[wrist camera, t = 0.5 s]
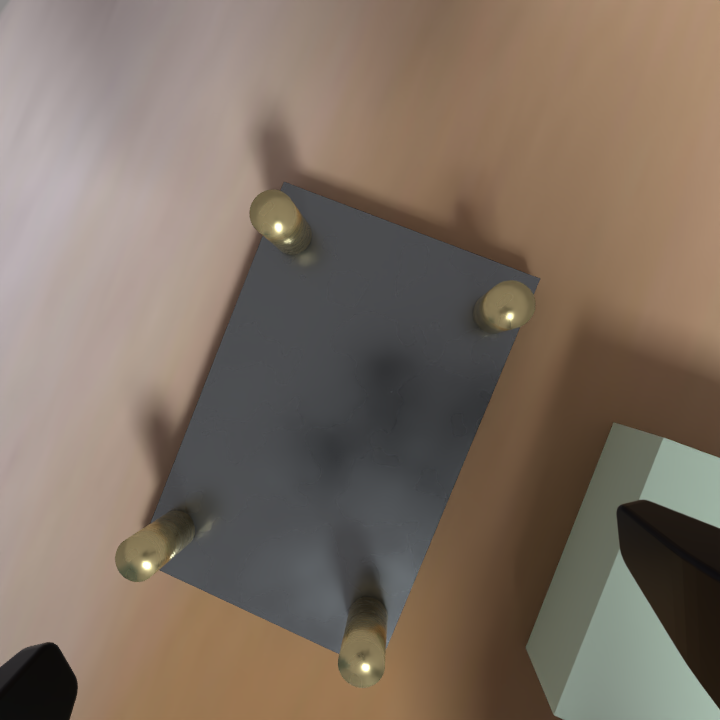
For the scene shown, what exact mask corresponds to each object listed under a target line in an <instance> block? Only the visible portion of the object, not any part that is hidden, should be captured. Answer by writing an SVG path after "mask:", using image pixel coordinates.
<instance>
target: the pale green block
mask: <svg viewBox="0 0 720 720" xmlns="http://www.w3.org/2000/svg"><path fill="white" fill-rule="evenodd" d="M637 500H648V501H651V502H654V503H657V504H659V505H662V506H664V507H667V508H669V509H672V510H674V511H677V512H680V513H682V514H685V515H687V516H690V517H692V518H695V519H698V520H700V521H703V522H705V523H708V524H710V525H713V526H715V527H718V528H720V458H718V457H715V456H713V455H710V454H707V453H705V452H702V451H699V450H696V449H694V448H691V447H688V446H685V445H683V444H680V443H677V442H674V441H672V440H669V439H666V438H663V437H660V436H657V435H654V434H650V433H647V432H644V431H641V430H637V429H634V428H631V427H628V426H624V425H621V424H618V423H615V422H613V425H612V428H611V430H610V433H609V435H608V438H607V440H606V443H605V445H604V448H603V451H602V453H601V456H600V458H599V461H598V463H597V466H596V469H595V471H594V474H593V476H592V479H591V481H590V484H589V486H588V489H587V492H586V494H585V497H584V499H583V502H582V504H581V507H580V509H579V512H578V515H577V517H576V520H575V522H574V525H573V527H572V530H571V533H570V535H569V538H568V540H567V543H566V545H565V548H564V550H563V553H562V556H561V558H560V561H559V563H558V566H557V568H556V571H555V573H554V576H553V579H552V581H551V584H550V586H549V589H548V591H547V594H546V597H545V599H544V602H543V604H542V607H541V609H540V612H539V614H538V617H537V620H536V622H535V625H534V627H533V630H532V632H531V635H530V637H529V640H528V643H527V645H526V650H527V652H528V655H529V657H530V660H531V662H532V664H533V667H534V669H535V672H536V674H537V676H538V679H539V681H540V684H541V686H542V688H543V691H544V693H545V696H546V698H547V700H548V703H549V705H550V708H551V710H552V712H553V715H554V716H557V717H559V718H561V719H564V720H720V710H719V708H718V707H717V705H716V704H715V703H714V701H713V700H712V699H711V697H710V696H709V695H708V693H707V692H706V691H705V689H704V688H703V687H702V685H701V684H700V683H699V681H698V680H697V678H696V677H695V675H694V674H693V673H692V671H691V670H690V668H689V667H688V666H687V664H686V662H685V661H684V659H683V658H682V656H681V655H680V653H679V651H678V650H677V648H676V647H675V645H674V643H673V642H672V640H671V639H670V637H669V635H668V634H667V632H666V630H665V629H664V627H663V625H662V624H661V622H660V620H659V619H658V617H657V616H656V614H655V612H654V611H653V609H652V607H651V606H650V604H649V602H648V601H647V599H646V597H645V596H644V594H643V593H642V591H641V589H640V588H639V586H638V584H637V583H636V581H635V579H634V578H633V576H632V574H631V573H630V571H629V570H628V568H627V566H626V564H625V562H624V560H623V558H622V555H621V552H620V546H619V536H618V526H617V516H616V511H617V508H618V506H620V505H621V504H625V503H629V502H633V501H637Z"/></svg>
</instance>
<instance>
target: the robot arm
mask: <svg viewBox="0 0 720 720" xmlns="http://www.w3.org/2000/svg"><path fill="white" fill-rule="evenodd" d="M616 516H617V526H618V536H619V546H620V552H621V555H622V558H623V560H624V562H625V564H626V566H627V568H628V570H629V571H630V573H631V574H632V576H633V578H634V579H635V581H636V583H637V584H638V586H639V588H640V589H641V591H642V593H643V594H644V596H645V597H646V599H647V601H648V602H649V604H650V606H651V607H652V609H653V611H654V612H655V614H656V616H657V617H658V619H659V620H660V622H661V624H662V625H663V627H664V629H665V630H666V632H667V634H668V635H669V637H670V639H671V640H672V642H673V643H674V645H675V647H676V648H677V650H678V651H679V653H680V655H681V656H682V658H683V659H684V661H685V662H686V664H687V666H688V667H689V668H690V670H691V671H692V673H693V674H694V675H695V677H696V678H697V680H698V681H699V683H700V684H701V685H702V687H703V688H704V689H705V691H706V692H707V693H708V695H709V696H710V697H711V699H712V700H713V701H714V703H715V704H716V705H717V707H718V708H719V710H720V528H718V527H715V526H713V525H710V524H708V523H705V522H703V521H700V520H698V519H695V518H692V517H690V516H687V515H685V514H682V513H680V512H677V511H674V510H672V509H669V508H667V507H664V506H662V505H659V504H657V503H654V502H651V501H648V500H637V501H633V502H629V503H625V504H621V505H620V506H618V508H617V511H616ZM77 690H78V684H77V679H76V676H75V674H74V673H73V671H72V669H71V667H70V666H69V664H68V662H67V661H66V659H65V657H64V655H63V654H62V652H61V650H60V649H59V647H58V646H57V645H56V644H54V643H52V642H46V643H42V644H38V645H34V646H30V647H27V648H25V649H23V650H21V651H20V652H18V653H17V654H16V655H15V656H14V657H12V658H11V659H10V660H9V661H7V662H6V663H5V664H4V665H2V666H1V667H0V720H70V716H71V713H72V710H73V706H74V703H75V700H76V696H77Z"/></svg>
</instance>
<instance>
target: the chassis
mask: <svg viewBox="0 0 720 720" xmlns="http://www.w3.org/2000/svg"><path fill="white" fill-rule="evenodd" d="M250 220H251V223H252V225H253V226H254V228H255V229H256V230H257V231H258V232H260V233H261V234H262V235H263V237H262V239H261V242H260V244H259V247H258V249H257V252H256V254H255V257H254V260H253V262H252V265H251V267H250V270H249V272H248V275H247V278H246V280H245V283H244V285H243V288H242V290H241V293H240V295H239V298H238V301H237V303H236V306H235V308H234V311H233V313H232V316H231V318H230V321H229V324H228V326H227V329H226V331H225V334H224V336H223V339H222V341H221V344H220V347H219V349H218V352H217V354H216V357H215V359H214V362H213V364H212V367H211V370H210V372H209V375H208V377H207V380H206V382H205V385H204V388H203V390H202V393H201V395H200V398H199V400H198V403H197V405H196V408H195V411H194V413H193V416H192V418H191V421H190V423H189V426H188V428H187V431H186V434H185V436H184V439H183V441H182V444H181V446H180V449H179V451H178V454H177V457H176V459H175V462H174V464H173V467H172V469H171V472H170V474H169V477H168V480H167V482H166V485H165V487H164V490H163V492H162V495H161V498H160V500H159V503H158V505H157V508H156V510H155V513H154V515H153V518H152V521H151V523H150V524H149V525H148V526H146V527H145V528H143V529H142V530H140V531H139V532H137V533H135V534H134V535H132V536H131V537H129V538H128V539H126V540H125V541H123V542H122V543H121V544H120V545H119V547H118V549H117V551H116V556H115V562H116V566H117V569H118V571H119V572H120V573H121V575H122V576H123V577H125V578H126V579H128V580H130V581H134V582H141V581H145V580H147V579H149V578H150V577H151V576H152V575H153V574H155V573H156V572H157V571H158V570H160V571H162V572H164V573H167V574H169V575H171V576H173V577H175V578H177V579H179V580H182V581H184V582H186V583H188V584H190V585H192V586H194V587H197V588H199V589H201V590H203V591H205V592H207V593H209V594H212V595H214V596H216V597H218V598H220V599H222V600H224V601H227V602H229V603H231V604H233V605H235V606H237V607H239V608H242V609H244V610H246V611H248V612H250V613H252V614H254V615H257V616H259V617H261V618H263V619H265V620H267V621H269V622H272V623H274V624H276V625H278V626H280V627H282V628H284V629H287V630H289V631H291V632H293V633H295V634H297V635H299V636H302V637H304V638H306V639H308V640H310V641H312V642H314V643H317V644H319V645H321V646H323V647H325V648H327V649H329V650H332V651H334V652H336V653H338V654H339V659H338V667H339V671H340V673H341V675H342V677H343V678H344V679H345V680H346V681H347V682H348V683H349V684H351V685H353V686H355V687H359V688H366V687H370V686H373V685H374V684H376V683H377V682H378V681H379V680H380V679H381V677H382V675H383V673H384V669H385V654H386V648H387V646H388V643H389V641H390V638H391V636H392V634H393V631H394V629H395V626H396V624H397V622H398V619H399V617H400V614H401V612H402V610H403V607H404V605H405V602H406V600H407V598H408V595H409V593H410V590H411V588H412V586H413V583H414V581H415V578H416V576H417V574H418V571H419V569H420V566H421V564H422V562H423V559H424V557H425V554H426V552H427V550H428V547H429V545H430V542H431V540H432V538H433V535H434V533H435V530H436V528H437V526H438V523H439V521H440V518H441V516H442V514H443V511H444V509H445V506H446V504H447V501H448V499H449V497H450V494H451V492H452V489H453V487H454V485H455V482H456V480H457V477H458V475H459V473H460V470H461V468H462V465H463V463H464V461H465V458H466V456H467V453H468V451H469V449H470V446H471V444H472V441H473V439H474V437H475V434H476V432H477V429H478V427H479V425H480V422H481V420H482V417H483V415H484V413H485V410H486V408H487V405H488V403H489V401H490V398H491V396H492V393H493V391H494V389H495V386H496V384H497V381H498V379H499V377H500V374H501V372H502V369H503V367H504V365H505V362H506V360H507V357H508V355H509V353H510V350H511V348H512V345H513V343H514V341H515V338H516V336H517V333H518V331H519V329H520V327H521V326H523V325H524V324H526V323H527V322H528V321H529V320H530V319H531V317H532V315H533V313H534V311H535V298H534V292H535V290H536V288H537V285H538V283H539V280H540V278H537V277H534V276H532V275H529V274H527V273H524V272H521V271H519V270H516V269H513V268H511V267H508V266H505V265H503V264H500V263H497V262H495V261H492V260H490V259H487V258H484V257H482V256H479V255H476V254H474V253H471V252H468V251H466V250H463V249H460V248H458V247H455V246H453V245H450V244H447V243H445V242H442V241H439V240H437V239H434V238H431V237H429V236H426V235H423V234H421V233H418V232H416V231H413V230H410V229H408V228H405V227H402V226H400V225H397V224H394V223H392V222H389V221H386V220H384V219H381V218H378V217H376V216H373V215H371V214H368V213H365V212H363V211H360V210H357V209H355V208H352V207H349V206H347V205H344V204H341V203H339V202H336V201H334V200H331V199H328V198H326V197H323V196H320V195H318V194H315V193H312V192H310V191H307V190H304V189H302V188H299V187H297V186H294V185H291V184H289V183H286V182H284V183H283V185H282V188H281V191H279V190H267V191H264V192H262V193H260V194H259V195H258V196H257V197H256V198H255V199H254V200H253V202H252V204H251V207H250Z"/></svg>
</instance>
